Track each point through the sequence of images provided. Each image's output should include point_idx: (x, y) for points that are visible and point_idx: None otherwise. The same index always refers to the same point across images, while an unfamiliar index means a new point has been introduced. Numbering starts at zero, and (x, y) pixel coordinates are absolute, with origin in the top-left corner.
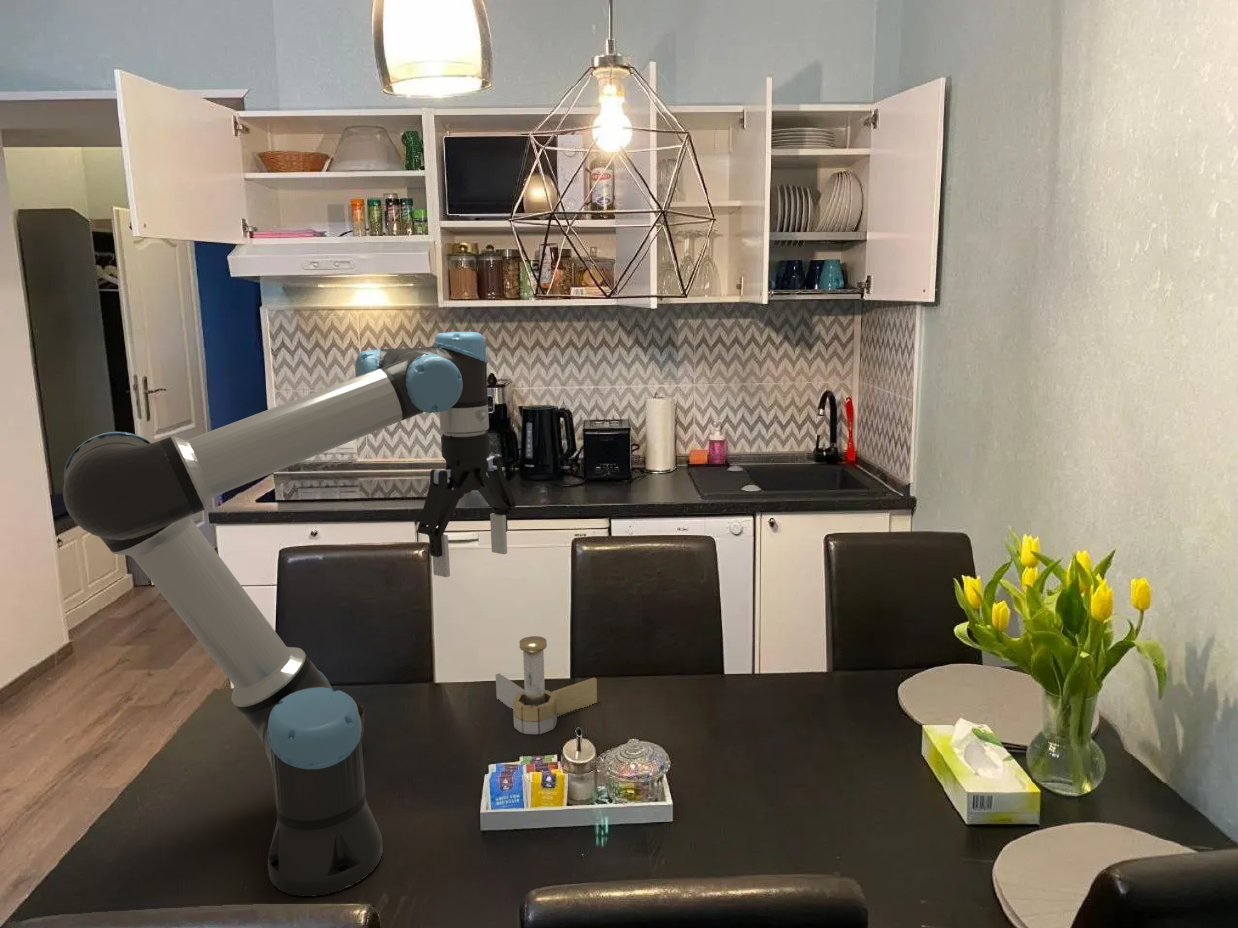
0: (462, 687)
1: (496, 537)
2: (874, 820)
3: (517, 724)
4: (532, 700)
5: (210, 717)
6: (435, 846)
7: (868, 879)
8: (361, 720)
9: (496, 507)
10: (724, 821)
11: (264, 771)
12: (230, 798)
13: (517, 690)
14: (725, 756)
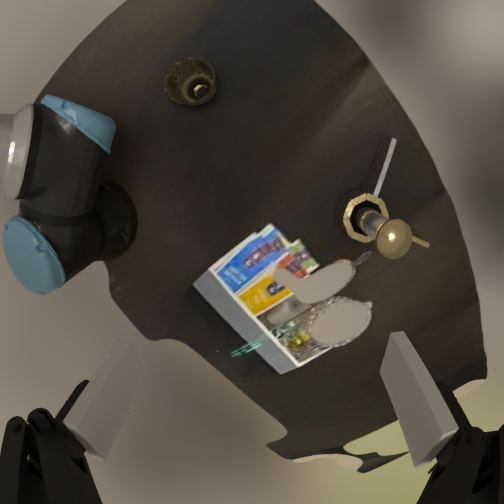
0: (378, 89)
1: (402, 386)
2: (332, 429)
3: (340, 204)
4: (357, 224)
5: None
6: (159, 269)
7: (284, 438)
8: (198, 102)
9: (434, 481)
10: (296, 392)
11: (144, 66)
12: (107, 87)
13: (375, 185)
14: (369, 363)
